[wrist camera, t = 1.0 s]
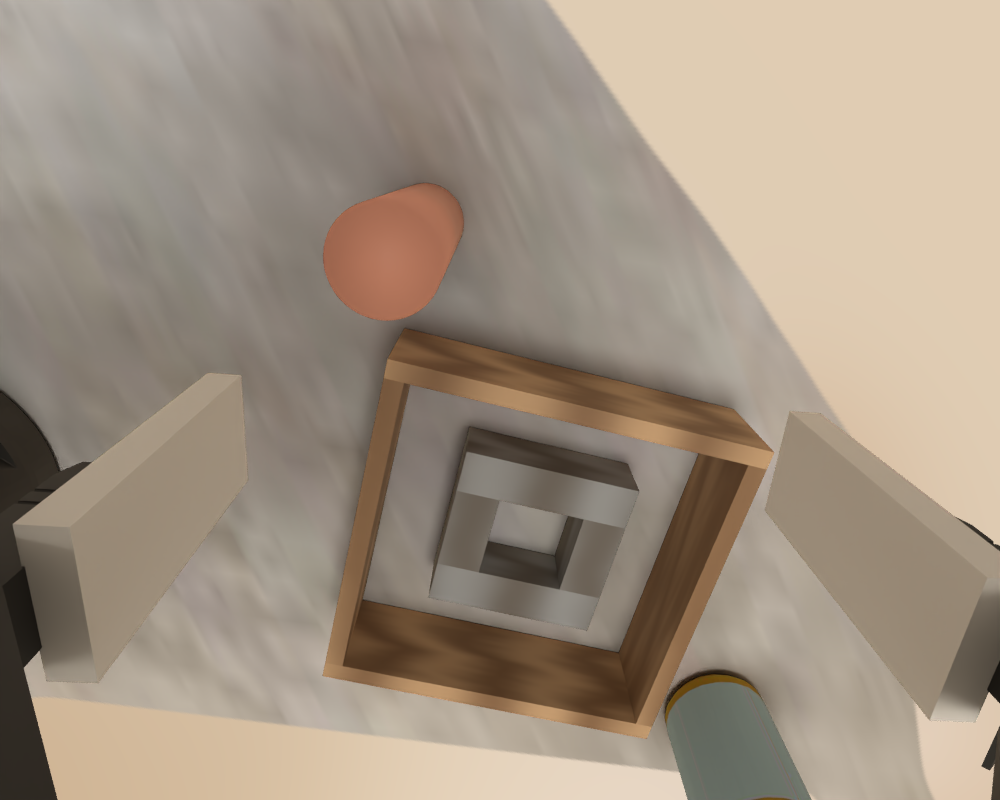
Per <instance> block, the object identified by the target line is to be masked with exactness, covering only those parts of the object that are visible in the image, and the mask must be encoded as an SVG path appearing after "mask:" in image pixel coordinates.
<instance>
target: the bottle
mask: <svg viewBox="0 0 1000 800" xmlns="http://www.w3.org/2000/svg"><path fill="white" fill-rule="evenodd" d="M665 721H666V726H667V730H668V734H669V738H670V741H671V745H672V748H673V751H674V755H675V758H676V762H677V765H678V768H679V772H680V775H681V778H682V782H683V785H684V788H685V792H686V795H687V799H688V800H811V797H810V795H809V793H808V791H807V789H806V787H805V785H804V783H803V781H802V779H801V777H800V775H799V773H798V771H797V769H796V767H795V765H794V763H793V761H792V759H791V756H790V754H789V752H788V750H787V748H786V746H785V744H784V742H783V740H782V738H781V736H780V734H779V732H778V730H777V728H776V726H775V724H774V722H773V720H772V718H771V716H770V714H769V711H768V709H767V707H766V705H765V703H764V702H763V700H762V698H761V696H760V695H759V693H758V692H757V690H756V689H755V688H754V687H753V686H751V685H750V684H749V683H747V682H746V681H744V680H741V679H738V678H735V677H732V676H728V675H719V674H710V675H706V676H700V677H697V678H695V679H693V680H691V681H689V682H687V683H686V684H684V685H683V686H682V687H681V688H680V689H679V690H678V691H677V692H676V693H675V694H674V696H673V697H672V699H671V700H670V702H669V703H668V705H667V708H666V714H665Z"/></svg>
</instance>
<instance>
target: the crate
mask: <svg viewBox="0 0 1000 800" xmlns="http://www.w3.org/2000/svg"><path fill="white" fill-rule="evenodd" d="M410 385H415V386H419V387H423V388H427V389H431V390H436V391H440V392H444V393H448V394H452V395H456V396H461V397H465V398H469V399H473V400H477V401H482V402H486V403H490V404H494V405H498V406H503V407H507V408H511V409H515V410H519V411H524V412H528V413H532V414H536V415H540V416H544V417H549V418H553V419H557V420H561V421H565V422H570V423H574V424H578V425H582V426H586V427H591V428H595V429H599V430H603V431H607V432H612V433H616V434H620V435H624V436H628V437H633V438H637V439H641V440H645V441H649V442H653V443H658V444H662V445H666V446H670V447H674V448H679V449H683V450H687V451H691V452H695V453H699V455H698V457H697V460H696V462H695V465H694V467H693V470H692V472H691V474H690V477H689V479H688V482H687V484H686V487H685V489H684V492H683V494H682V497H681V499H680V502H679V504H678V507H677V509H676V512H675V514H674V517H673V519H672V522H671V524H670V527H669V529H668V532H667V534H666V537H665V539H664V542H663V544H662V547H661V549H660V552H659V554H658V557H657V559H656V562H655V564H654V566H653V569H652V571H651V574H650V576H649V579H648V581H647V584H646V586H645V589H644V591H643V594H642V596H641V599H640V601H639V604H638V606H637V609H636V611H635V614H634V616H633V619H632V621H631V624H630V626H629V629H628V631H627V634H626V636H625V639H624V641H623V644H622V646H621V649H620V651H619V653H616V652H612V651H607V650H602V649H597V648H592V647H587V646H583V645H578V644H573V643H568V642H563V641H558V640H553V639H549V638H544V637H539V636H534V635H529V634H524V633H520V632H515V631H510V630H505V629H500V628H495V627H490V626H486V625H481V624H476V623H471V622H466V621H461V620H457V619H452V618H447V617H442V616H437V615H432V614H427V613H423V612H418V611H413V610H408V609H403V608H398V607H394V606H389V605H384V604H379V603H374V602H369V601H365V600H363V596H364V591H365V587H366V582H367V578H368V573H369V569H370V564H371V560H372V555H373V551H374V546H375V541H376V537H377V532H378V528H379V523H380V519H381V514H382V510H383V505H384V501H385V496H386V492H387V487H388V482H389V478H390V473H391V469H392V464H393V460H394V455H395V451H396V446H397V442H398V437H399V433H400V428H401V423H402V419H403V414H404V410H405V405H406V401H407V396H408V392H409V387H410ZM773 454H774V452H773V450H772V449H771V448H770V447H769V446H768V445H767V444H766V443H765V442H764V441H763V440H762V439H761V438H760V437H759V436H758V434H757V433H756V432H755V431H754V430H753V429H752V428H751V427H750V426H749V425H748V424H747V423H746V422H745V421H744V420H743V418H742V417H741V416H740V415H739V414H738V413H737V412H736V411H735V410H734V409H730V408H726V407H722V406H718V405H714V404H710V403H706V402H702V401H698V400H694V399H690V398H686V397H682V396H678V395H674V394H670V393H666V392H662V391H657V390H653V389H649V388H645V387H641V386H637V385H633V384H629V383H625V382H621V381H617V380H613V379H609V378H605V377H601V376H597V375H593V374H588V373H584V372H580V371H576V370H572V369H568V368H564V367H560V366H556V365H552V364H548V363H544V362H540V361H536V360H532V359H528V358H524V357H519V356H515V355H511V354H507V353H503V352H499V351H495V350H491V349H487V348H483V347H479V346H475V345H471V344H467V343H463V342H459V341H455V340H450V339H446V338H442V337H438V336H434V335H430V334H426V333H422V332H418V331H414V330H410V329H406V328H404V330H403V331H402V333H401V335H400V337H399V339H398V341H397V342H396V344H395V346H394V348H393V350H392V352H391V353H390V355H389V357H388V359H387V364H386V369H385V373H384V378H383V383H382V388H381V393H380V398H379V403H378V408H377V413H376V418H375V422H374V427H373V432H372V437H371V442H370V447H369V452H368V457H367V462H366V466H365V471H364V476H363V481H362V486H361V491H360V496H359V501H358V506H357V510H356V515H355V520H354V525H353V530H352V535H351V540H350V545H349V550H348V554H347V559H346V564H345V569H344V574H343V579H342V584H341V589H340V594H339V599H338V603H337V608H336V613H335V618H334V623H333V628H332V633H331V638H330V643H329V647H328V652H327V657H326V662H325V667H324V672H323V676H325V677H331V678H336V679H341V680H346V681H351V682H356V683H361V684H367V685H372V686H377V687H382V688H387V689H392V690H397V691H402V692H408V693H413V694H418V695H423V696H428V697H433V698H438V699H444V700H449V701H454V702H459V703H464V704H469V705H474V706H480V707H485V708H490V709H495V710H500V711H505V712H510V713H516V714H521V715H526V716H531V717H536V718H541V719H546V720H552V721H557V722H562V723H567V724H572V725H577V726H582V727H588V728H593V729H598V730H603V731H608V732H613V733H618V734H623V735H629V736H634V737H639V738H644V739H646V738H647V736H648V734H649V732H650V730H651V727H652V725H653V723H654V721H655V718H656V716H657V714H658V712H659V709H660V707H661V705H662V703H663V700H664V698H665V696H666V694H667V691H668V689H669V687H670V685H671V683H672V680H673V678H674V676H675V674H676V671H677V669H678V667H679V665H680V662H681V660H682V658H683V656H684V653H685V651H686V649H687V647H688V644H689V642H690V640H691V638H692V636H693V633H694V631H695V629H696V627H697V624H698V622H699V620H700V618H701V615H702V613H703V611H704V609H705V606H706V604H707V602H708V600H709V597H710V595H711V593H712V591H713V589H714V586H715V584H716V582H717V580H718V577H719V575H720V573H721V571H722V568H723V566H724V564H725V562H726V559H727V557H728V555H729V553H730V550H731V548H732V546H733V544H734V542H735V539H736V537H737V535H738V533H739V530H740V528H741V526H742V524H743V521H744V519H745V517H746V515H747V512H748V510H749V508H750V506H751V504H752V501H753V499H754V497H755V495H756V492H757V490H758V488H759V486H760V483H761V481H762V479H763V477H764V474H765V472H766V470H767V468H768V465H769V463H770V461H771V459H772V457H773ZM638 494H639V489H638V487H637V485H636V482H635V480H634V478H633V475H632V473H631V471H630V468H629V466H628V464H626V463H621V462H617V461H613V460H609V459H604V458H600V457H596V456H592V455H587V454H583V453H579V452H575V451H570V450H566V449H562V448H557V447H553V446H549V445H545V444H540V443H536V442H532V441H528V440H523V439H519V438H515V437H511V436H506V435H502V434H498V433H494V432H489V431H485V430H481V429H476V428H472V427H469V431H468V435H467V438H466V442H465V446H464V450H463V454H462V458H461V461H460V465H459V469H458V473H457V477H456V481H455V484H454V488H453V492H452V496H451V500H450V504H449V507H448V511H447V515H446V519H445V523H444V527H443V530H442V534H441V538H440V542H439V546H438V550H437V553H436V557H435V561H434V566H433V572H432V578H431V585H430V591H429V598H433V599H437V600H442V601H447V602H452V603H457V604H461V605H466V606H471V607H476V608H480V609H485V610H490V611H495V612H500V613H504V614H509V615H514V616H519V617H524V618H528V619H533V620H538V621H543V622H548V623H552V624H557V625H562V626H567V627H572V628H576V629H581V630H586V631H587V630H588V627H589V624H590V622H591V619H592V616H593V614H594V611H595V608H596V606H597V603H598V600H599V598H600V595H601V592H602V590H603V587H604V584H605V582H606V579H607V576H608V574H609V571H610V568H611V566H612V563H613V560H614V558H615V555H616V552H617V550H618V547H619V544H620V542H621V539H622V536H623V534H624V531H625V528H626V526H627V523H628V520H629V518H630V515H631V512H632V510H633V507H634V504H635V502H636V499H637V496H638ZM499 501H505V502H509V503H513V504H518V505H522V506H527V507H531V508H536V509H540V510H545V511H549V512H553V513H558V514H562V515H567V516H568V518H567V521H566V524H565V527H564V530H563V533H562V536H561V539H560V542H559V545H558V548H557V551H556V554H555V556H552V555H548V554H543V553H539V552H534V551H529V550H525V549H520V548H516V547H511V546H507V545H502V544H497V543H493V542H488V539H489V535H490V532H491V528H492V525H493V521H494V518H495V514H496V511H497V508H498V504H499Z"/></svg>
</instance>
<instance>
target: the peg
mask: <svg viewBox="0 0 1000 800" xmlns="http://www.w3.org/2000/svg"><path fill="white" fill-rule="evenodd" d="M463 228H464V218H463V213H462V210H461V207H460V205H459V203H458V201H457V200H456V198H455V197H454V196H453V195H452V194H451V193H450V192H449V191H447V190H446V189H444V188H442V187H440V186H438V185H435V184H430V183H420V184H415V185H412V186H409V187H406V188H403V189H400V190H397V191H394V192H391V193H388V194H385V195H382V196H379V197H376V198H373V199H369V200H366V201H363V202H361V203H358V204H355V205H354V206H352V207H350V208H348V209H347V210H346V211H344V212H343V213H342V214H341V215H340V216H339V217H338V218H337V219H336V220H335V222H334V223H333V224H332V226H331V228H330V230H329V232H328V234H327V237H326V240H325V244H324V252H323V261H324V268H325V272H326V276H327V279H328V281H329V283H330V285H331V287H332V289H333V290H334V292H335V293H336V295H337V296H338V297H339V299H340V300H341V301H342V302H343V303H344V304H345V305H347V306H348V307H349V308H351V309H352V310H354V311H355V312H357V313H359V314H361V315H363V316H365V317H368V318H372V319H376V320H386V321H389V320H398V319H402V318H405V317H408V316H411V315H413V314H415V313H416V312H418V311H419V310H421V309H422V308H423V307H424V306H426V305H427V304H428V303H429V301H430V300H431V299H432V298H433V296H434V295H435V293H436V291H437V289H438V287H439V285H440V283H441V281H442V278H443V276H444V274H445V272H446V270H447V267H448V265H449V263H450V261H451V259H452V256H453V254H454V252H455V250H456V248H457V245H458V243H459V241H460V239H461V237H462V233H463Z"/></svg>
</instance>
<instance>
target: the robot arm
mask: <svg viewBox="0 0 1000 800" xmlns="http://www.w3.org/2000/svg"><path fill="white" fill-rule="evenodd" d="M247 481H248V469H247V454H246V440H245V425H244V410H243V395H242V380H241V375H233V374H218V373H207V374H206V375H204V376H203V377H202V378H201V379H199V380H198V381H197V382H195V383H194V384H193V385H191V386H190V387H189V388H188V389H186V390H185V391H184V392H182V393H181V394H180V395H179V396H177V397H176V398H175V399H173V400H172V401H171V402H170V403H168V404H167V405H166V406H164V407H163V408H162V409H161V410H159V411H158V412H157V413H155V414H154V415H153V416H151V417H150V418H149V419H148V420H146V421H145V422H144V423H142V424H141V425H140V426H139V427H137V428H136V429H135V430H133V431H132V432H131V433H130V434H128V435H127V436H126V437H124V438H123V439H122V440H120V441H119V442H118V443H117V444H115V445H114V446H113V447H111V448H110V449H109V450H108V451H106V452H105V453H104V454H102V455H101V456H100V457H99V458H97V459H96V460H95V461H93V462H82V463H79V464H77V465H74V466H72V467H70V468H67V469H65V470H62V471H60V472H58V469H57V466H56V463H55V460H54V458H53V456H52V453H51V451H50V449H49V447H48V446H47V444H46V442H45V440H44V439H43V437H42V435H41V434H40V433H39V431H38V430H37V428H36V427H35V426H34V424H33V423H32V422H31V421H30V419H29V418H28V417H27V416H26V415H25V414H24V413H23V412H22V411H21V410H20V409H19V408H18V407H17V406H16V405H15V404H14V403H13V402H12V401H11V400H9V399H8V398H7V397H6V396H5V395H3V394H2V393H1V392H0V800H57V796H56V792H55V788H54V785H53V780H52V777H51V773H50V769H49V765H48V761H47V757H46V753H45V749H44V745H43V742H42V738H41V734H40V730H39V726H38V722H37V718H36V715H35V711H34V707H33V703H32V699H31V695H30V691H29V687H28V684H27V680H26V676H25V672H24V667H25V666H26V665H27V664H28V663H29V661H30V660H31V659H32V658H33V657H34V656H35V655H36V654H37V653H38V651H39V650H40V654H41V659H42V663H43V668H44V672H45V677H46V681H54V682H77V683H99V681H100V680H101V679H102V677H103V676H104V675H105V673H106V672H107V671H108V669H109V668H110V666H111V665H112V664H113V662H114V661H115V660H116V658H117V657H118V656H119V654H120V653H121V652H122V650H123V649H124V648H125V646H126V645H127V643H128V642H129V641H130V639H131V638H132V637H133V635H134V634H135V633H136V631H137V630H138V629H139V627H140V626H141V624H142V623H143V622H144V620H145V619H146V618H147V616H148V615H149V614H150V612H151V611H152V610H153V608H154V607H155V606H156V604H157V603H158V601H159V600H160V599H161V597H162V596H163V595H164V593H165V592H166V591H167V589H168V588H169V587H170V585H171V584H172V583H173V581H174V580H175V578H176V577H177V576H178V574H179V573H180V572H181V570H182V569H183V568H184V566H185V565H186V564H187V562H188V561H189V559H190V558H191V557H192V555H193V554H194V553H195V551H196V550H197V549H198V547H199V546H200V545H201V543H202V542H203V541H204V539H205V538H206V536H207V535H208V534H209V532H210V531H211V530H212V528H213V527H214V526H215V524H216V523H217V522H218V520H219V519H220V518H221V516H222V515H223V513H224V512H225V511H226V509H227V508H228V507H229V505H230V504H231V503H232V501H233V500H234V499H235V497H236V496H237V495H238V493H239V492H240V490H241V489H242V488H243V486H244V485H245V484H246V482H247ZM765 511H766V513H767V514H768V515H769V517H770V518H771V519H772V520H773V522H774V523H775V524H776V525H777V527H778V528H779V529H780V531H781V532H782V533H783V534H784V536H785V537H786V538H787V540H788V541H789V542H790V543H791V545H792V546H793V547H794V548H795V550H796V551H797V552H798V554H799V555H800V556H801V557H802V559H803V560H804V561H805V562H806V564H807V565H808V566H809V568H810V569H811V570H812V571H813V573H814V574H815V575H816V576H817V578H818V579H819V580H820V582H821V583H822V584H823V585H824V587H825V588H826V589H827V590H828V592H829V593H830V594H831V596H832V597H833V598H834V599H835V601H836V602H837V603H838V604H839V606H840V607H841V608H842V610H843V611H844V612H845V613H846V615H847V616H848V617H849V619H850V620H851V621H852V622H853V624H854V625H855V626H856V627H857V629H858V630H859V631H860V633H861V634H862V635H863V636H864V638H865V639H866V640H867V641H868V643H869V644H870V645H871V647H872V648H873V649H874V650H875V652H876V653H877V654H878V655H879V657H880V658H881V659H882V661H883V662H884V663H885V664H886V666H887V667H888V668H889V669H890V671H891V672H892V673H893V675H894V676H895V677H896V678H897V680H898V681H899V682H900V683H901V685H902V686H903V687H904V689H905V690H906V691H907V692H908V694H909V695H910V696H911V698H912V699H913V700H914V701H915V703H916V704H917V705H918V706H919V708H920V709H921V710H922V712H923V713H924V714H925V715H926V717H927V718H928V719H929V720H932V721H953V722H976V719H977V717H978V715H979V713H980V710H981V708H982V706H983V703H984V701H985V699H986V697H987V694H988V692H990V693H991V694H992V696H993V697H994V698H996V700H997V701H998V702H999V703H1000V546H999V545H996V544H993V541H992V540H991V539H990V538H988V537H987V536H986V535H984V534H983V533H982V532H980V531H979V530H978V529H976V528H975V527H974V526H972V525H970V524H968V523H967V522H965V521H962V520H961V519H959V518H957V517H955V516H953V515H952V514H951V513H949V512H948V511H947V510H945V509H944V508H943V507H942V506H940V505H939V504H938V503H936V502H935V501H933V500H932V499H931V498H930V497H928V496H927V495H926V494H925V493H923V492H922V491H921V490H919V489H918V488H917V487H915V486H914V485H913V484H912V483H910V482H909V481H908V480H906V479H905V478H904V477H903V476H901V475H900V474H898V473H897V472H896V471H895V470H894V469H892V468H891V467H890V466H888V465H887V464H886V463H884V462H883V461H882V460H880V459H879V458H878V457H876V456H875V455H874V454H873V453H871V452H870V451H869V450H867V449H866V448H865V447H864V446H862V445H861V444H860V443H858V442H857V441H856V440H855V439H853V438H852V437H851V436H849V435H848V434H847V433H845V432H844V431H843V430H842V429H840V428H839V427H838V426H836V425H835V424H834V423H832V422H831V421H830V420H829V419H827V418H826V417H825V416H823V415H822V414H821V413H810V412H795V411H789V415H788V419H787V423H786V427H785V431H784V435H783V439H782V443H781V447H780V451H779V455H778V459H777V463H776V467H775V471H774V475H773V479H772V483H771V487H770V491H769V495H768V499H767V503H766V507H765ZM994 764H995V767H994V777H993V787H992V797H991V800H1000V727H999V729H998V731H997V734H996V736H995V738H994V740H993V742H992V744H991V747H990V749H989V751H988V753H987V755H986V757H985V760H984V762H983V764H982V767H984V768H986V769H988V770H990V769H991V768H992V767H993V765H994Z"/></svg>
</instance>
